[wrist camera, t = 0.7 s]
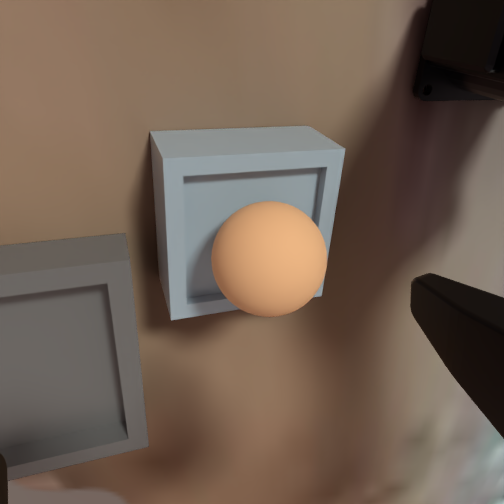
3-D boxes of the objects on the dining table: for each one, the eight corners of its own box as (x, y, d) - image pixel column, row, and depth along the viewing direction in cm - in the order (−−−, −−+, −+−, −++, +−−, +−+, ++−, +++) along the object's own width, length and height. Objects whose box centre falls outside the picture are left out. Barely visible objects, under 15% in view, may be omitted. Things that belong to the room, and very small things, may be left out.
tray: (125, 233, 20) (130, 260, 18) (143, 412, 26) (148, 446, 24) (-206, 266, 17) (-243, 303, 15) (-96, 464, 23) (-113, 510, 21)
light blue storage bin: (308, 125, 20) (345, 148, 18) (293, 258, 24) (321, 296, 21) (150, 131, 18) (162, 158, 15) (159, 276, 22) (170, 320, 19)
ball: (304, 179, 18) (358, 227, 15) (293, 269, 20) (338, 330, 17) (199, 187, 17) (231, 242, 13) (200, 282, 19) (227, 351, 16)
